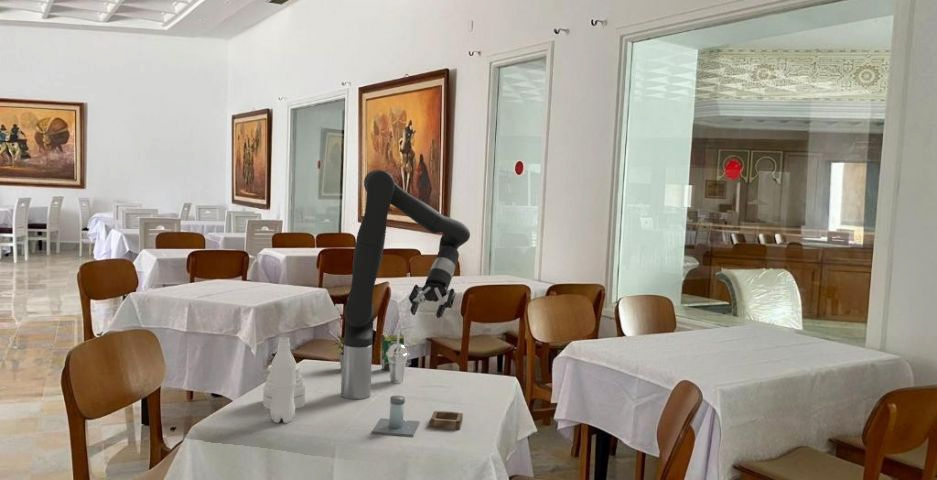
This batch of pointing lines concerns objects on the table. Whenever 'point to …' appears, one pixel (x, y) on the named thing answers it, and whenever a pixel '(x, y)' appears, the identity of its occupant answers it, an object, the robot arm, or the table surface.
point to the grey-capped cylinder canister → (396, 411)
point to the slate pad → (406, 430)
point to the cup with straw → (397, 359)
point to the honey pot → (298, 392)
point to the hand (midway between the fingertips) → (425, 315)
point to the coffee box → (386, 344)
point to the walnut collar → (446, 420)
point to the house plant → (341, 349)
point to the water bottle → (283, 383)
